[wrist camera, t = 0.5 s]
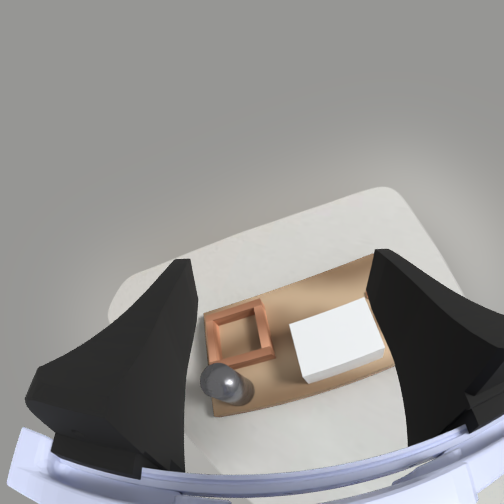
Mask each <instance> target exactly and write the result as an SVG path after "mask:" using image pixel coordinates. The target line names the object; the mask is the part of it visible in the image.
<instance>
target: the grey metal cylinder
mask: <svg viewBox="0 0 504 504" xmlns="http://www.w3.org/2000/svg"><path fill="white" fill-rule="evenodd" d="M200 385H201V388H202V390H203V392H204V393H205V394H207V395H208V396H210V397H213V398H215V399H218V400H221V401H223V402H226V403H229V404H231V405H234V406H244V405H246V404H248V403H249V402H250V401H251V400H252V399H253V397H254V393H255V388H254V385H253V383H252V382H251V381H250V380H249V379H247V378H246V377H244V376H243V375H241V374H240V373H238V372H236V371H235V370H233V369H232V368H230V367H229V366H227V365H226V364H223V363H213V364H211V365H209V366H208V367H206V368H205V370H204V371H203V372H202V374H201V378H200Z"/></svg>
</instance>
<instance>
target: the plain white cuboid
mask: <svg viewBox="0 0 504 504" xmlns="http://www.w3.org/2000/svg"><path fill="white" fill-rule="evenodd" d="M289 326H290V330H291V334H292V337H293V341H294V345H295V349H296V353H297V357H298V361H299V365H300V369H301V373H302V377H303V378H304V379H305V380H306V381H307V383H308V384H310V383H313V382H317V381H320V380H323V379H326V378H329V377H332V376H335V375H338V374H341V373H344V372H346V371H349V370H352V369H355V368H357V367H360V366H363V365H365V364H368V363H370V362H373V361H375V360H378V359H380V358H383V354H384V350H385V346H384V343H383V341H382V338H381V336H380V333H379V331H378V328H377V326H376V323H375V321H374V318H373V316H372V314H371V311H370V309H369V307H368V304H367V302H366V300H365V297H363V298H361V299H358V300H355V301H353V302H350V303H348V304H345V305H342V306H340V307H337V308H334V309H332V310H329V311H326V312H323V313H320V314H318V315H315V316H312V317H309V318H306V319H303V320H300V321H297V322H294V323H291V324H289Z"/></svg>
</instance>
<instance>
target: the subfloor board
mask: <svg viewBox="0 0 504 504" xmlns="http://www.w3.org/2000/svg"><path fill="white" fill-rule="evenodd" d="M373 256H374V254H370V255H368V256H365V257H362V258H360V259H357V260H355V261H352V262H349V263H347V264H344V265H342V266H339V267H336V268H334V269H331V270H328V271H326V272H323V273H320V274H317V275H315V276H312V277H309V278H306V279H304V280H301V281H298V282H295V283H292V284H290V285H287V286H284V287H281V288H278V289H275V290H272V291H270V292H267V293H264V294H261V295H258V296H255V297H252V298H249V299H246V300H243V301H240V302H237V303H234V304H231V305H228V306H225V307H222V308H219V309H215V310H212V311H209V312H206V313H204V326H205V337H206V348H207V359H208V366H209V365H211V364H213V363H223V364H226V365H227V366H229V367H230V368H232V369H233V370H235V371H236V372H238V373H240V374H241V375H243V376H244V377H246V378H247V379H249V380H250V381H251V382H252V383H253V385H254V388H255V393H254V397H253V399H252V400H251V401H250V402H249V403H248V404H246V405H244V406H234V405H231V404H229V403H226V402H223V401H221V400H218V399H215V398H213V397H212V404H213V412H214V416H215V417H224V416H230V415H235V414H240V413H245V412H250V411H255V410H260V409H264V408H268V407H273V406H277V405H281V404H285V403H289V402H292V401H296V400H300V399H303V398H307V397H310V396H313V395H317V394H320V393H323V392H326V391H330V390H333V389H336V388H339V387H342V386H344V385H347V384H350V383H353V382H356V381H358V380H361V379H364V378H366V377H369V376H372V375H374V374H377V373H379V372H382V371H384V370H386V369H389V368H391V367H394V366H395V363H394V360H393V357H392V355H391V352H390V350H389V347H388V345H387V343H386V340H385V338H384V336H383V334H382V331H381V329H380V327H379V325H378V323H377V320H376V318H375V316H374V314H373V311H372V309H371V305H370V302H369V299H368V296H367V292H366V286H367V282H368V278H369V274H370V270H371V265H372V261H373ZM363 297H365V300H366V302H367V304H368V307H369V309H370V311H371V314H372V316H373V318H374V321H375V323H376V326H377V328H378V331H379V333H380V336H381V338H382V341H383V343H384V346H385V350H384V354H383V358H380V359H378V360H375V361H373V362H370V363H368V364H365V365H363V366H360V367H357V368H355V369H352V370H349V371H346V372H344V373H341V374H338V375H335V376H332V377H329V378H326V379H323V380H320V381H317V382H313V383H310V384H308V383H307V381H306V380H305V379H304V378H303V377H302V373H301V369H300V365H299V361H298V357H297V353H296V349H295V345H294V341H293V337H292V334H291V330H290V326H289V324H291V323H294V322H297V321H300V320H303V319H306V318H309V317H312V316H315V315H318V314H320V313H323V312H326V311H329V310H332V309H334V308H337V307H340V306H342V305H345V304H348V303H350V302H353V301H355V300H358V299H361V298H363Z"/></svg>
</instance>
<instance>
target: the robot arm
mask: <svg viewBox="0 0 504 504" xmlns="http://www.w3.org/2000/svg"><path fill="white" fill-rule="evenodd" d="M366 292H367V296H368V299H369V302H370V305H371V309H372V311H373V314H374V316H375V318H376V320H377V323H378V325H379V327H380V329H381V331H382V334H383V336H384V338H385V340H386V343H387V345H388V347H389V350H390V352H391V355H392V357H393V360H394V363H395V367H396V371H397V374H398V378H399V382H400V387H401V392H402V397H403V402H404V409H405V415H406V424H407V437H408V447H406V448H403V449H400V450H397V451H394V452H390V453H387V454H383V455H380V456H376V457H372V458H368V459H364V460H360V461H356V462H351V463H346V464H341V465H336V466H331V467H325V468H318V469H312V470H304V471H296V472H286V473H274V474H255V475H211V474H194V473H185V462H184V401H185V385H186V375H187V368H188V363H189V358H190V353H191V347H192V343H193V338H194V332H195V327H196V322H197V310H198V296H197V291H196V286H195V281H194V276H193V271H192V266H191V260H190V259H175V260H174V261H173V262H172V263H171V264H170V265H169V266H168V267H167V268H166V270H165V271H164V272H163V273H162V274H161V275H160V276H159V278H158V279H157V280H156V281H155V282H154V283H153V284H152V285H151V286H150V288H149V289H148V290H147V291H146V292H145V293H144V294H143V295H142V296H141V297H140V298H139V299H138V300H137V301H136V302H135V303H134V304H133V305H132V306H131V307H130V308H129V309H128V310H127V311H126V312H124V313H123V314H122V315H121V316H120V317H119V318H118V319H116V320H115V321H114V322H113V323H112V324H110V325H109V326H108V327H106V328H105V329H104V330H102V331H101V332H100V333H98V334H97V335H95V336H94V337H93V338H91V339H90V340H88V341H87V342H85V343H84V344H82V345H81V346H79V347H77V348H76V349H74V350H72V351H70V352H69V353H67V354H65V355H64V356H61V357H59V358H57V359H55V360H53V361H51V362H49V363H47V364H45V365H43V366H40V367H39V368H38V369H37V371H36V374H35V376H34V378H33V380H32V383H31V385H30V388H29V390H28V392H27V395H26V397H25V403H26V405H27V407H28V408H29V410H30V411H31V412H32V413H33V414H34V415H35V416H36V417H37V418H39V419H40V420H41V421H42V422H43V423H44V424H46V425H47V426H48V427H49V428H50V429H52V430H53V431H54V432H55V437H54V440H53V439H51V438H49V437H48V436H45V435H43V434H40V433H38V432H36V431H33V430H31V429H28V428H26V427H23V428H22V430H21V433H20V436H19V439H18V442H17V446H16V449H15V452H14V456H13V459H12V463H11V467H10V471H9V475H8V480H7V485H8V486H10V487H11V488H13V489H15V490H16V491H18V492H19V493H21V494H23V495H25V496H26V497H28V498H30V499H32V500H33V501H35V502H37V503H39V504H231V502H230V501H229V500H219V499H209V498H202V497H223V498H252V497H273V496H285V495H295V494H303V493H311V492H317V491H323V490H329V489H335V488H340V487H344V486H349V485H353V484H358V483H362V482H366V481H370V480H373V479H377V478H380V477H384V476H387V475H390V474H394V473H397V472H400V471H403V470H406V469H408V468H411V467H414V466H417V465H419V464H422V463H424V462H427V461H429V460H432V459H434V458H435V459H434V460H432V461H430V462H428V463H425V464H423V465H421V466H419V467H417V468H416V469H415V470H413V471H412V472H411V473H409V474H408V475H406V476H404V477H402V478H400V479H398V480H396V481H394V482H393V483H392V486H389V487H386V488H382V489H379V490H375V491H372V492H368V493H364V494H360V495H356V496H352V497H348V498H344V499H339V500H334V501H329V502H324V503H318V504H476V503H477V501H478V500H479V499H478V495H477V493H479V492H480V491H481V490H483V489H484V488H486V487H487V486H488V485H490V484H491V483H492V482H494V481H495V480H496V479H498V478H499V477H500V476H501V475H503V474H504V315H502V314H499V313H496V312H494V311H492V310H489V309H487V308H485V307H483V306H480V305H478V304H476V303H474V302H472V301H470V300H468V299H466V298H465V297H463V296H461V295H459V294H457V293H456V292H454V291H452V290H450V289H449V288H447V287H446V286H444V285H443V284H441V283H439V282H438V281H436V280H435V279H433V278H432V277H430V276H429V275H427V274H426V273H424V272H423V271H422V270H420V269H419V268H417V267H416V266H414V265H413V264H411V263H410V262H409V261H407V260H406V259H404V258H403V257H401V256H400V255H398V254H396V253H395V252H393V251H391V250H389V249H375V252H374V256H373V261H372V265H371V270H370V274H369V278H368V282H367V286H366ZM186 495H189V496H186ZM195 496H202V497H195Z"/></svg>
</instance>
